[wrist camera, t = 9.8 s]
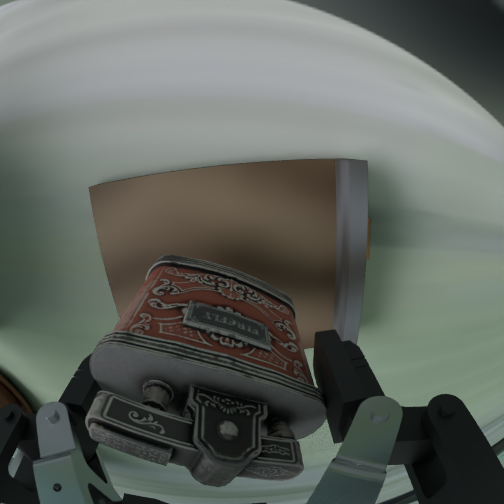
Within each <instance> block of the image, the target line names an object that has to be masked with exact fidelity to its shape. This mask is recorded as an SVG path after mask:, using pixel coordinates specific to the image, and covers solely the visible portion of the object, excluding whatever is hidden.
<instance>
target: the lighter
mask: <svg viewBox="0 0 504 504" xmlns="http://www.w3.org/2000/svg"><path fill="white" fill-rule="evenodd" d="M296 321H297V313H296V310H295V307H294V304H293V302H292V299H291V298H290V297H289V296H288V295H287V294H285V293H283V292H281V291H280V290H278V289H276V288H274V287H272V286H271V285H269V284H267V283H265V282H264V281H262V280H259V279H257V278H255V277H252V276H250V275H248V274H245V273H243V272H241V271H238V270H236V269H234V268H230V267H226V266H223V265H219V264H216V263H212V262H209V261H205V260H201V259H195V258H190V257H184V256H178V255H165V256H162V257H160V258H159V259H158V260H157V261H156V262H155V263H154V264H153V265H152V266H151V268H150V269H149V271H148V273H147V276H146V281H145V283H144V284H143V285H142V287H141V288H140V290H139V291H138V293H137V294H136V296H135V297H134V299H133V300H132V302H131V303H130V305H129V306H128V308H127V309H126V311H125V312H124V314H123V316H122V317H121V319H120V320H119V322H118V323H117V325H116V326H115V328H114V330H113V331H112V332H110V333H107V334H106V335H105V336H104V337H103V338H102V339H101V340H100V342H99V343H98V345H97V346H96V348H95V350H94V351H93V353H92V355H91V358H90V362H89V364H90V370H91V374H92V376H93V378H94V379H95V380H96V382H97V384H98V385H99V386H100V387H101V389H102V390H103V391H99V392H98V393H97V395H96V397H95V399H94V401H93V403H92V405H91V408H90V410H89V412H88V414H87V416H86V420H85V423H86V427H87V429H88V430H89V434H90V437H91V438H92V439H94V440H95V441H97V442H99V443H101V444H104V445H106V446H109V447H111V448H114V449H116V450H119V451H121V452H124V453H127V454H130V455H133V456H136V457H138V458H142V459H145V460H148V461H151V462H154V463H158V464H161V465H165V466H166V465H167V463H168V462H169V463H173V464H177V465H181V466H185V467H186V468H187V469H189V470H190V472H191V475H192V476H193V477H194V478H195V480H197V481H198V482H200V483H202V484H204V485H210V486H216V487H220V486H225V485H227V484H228V483H230V482H231V481H232V480H233V479H234V478H235V477H237V476H238V477H245V478H254V479H264V480H278V481H283V480H289V479H292V478H294V477H296V476H298V475H299V474H300V473H301V472H302V471H303V470H304V466H303V461H302V455H301V450H300V444H299V442H298V441H296V440H298V439H301V438H304V437H306V436H308V435H310V434H312V433H314V432H315V431H316V430H317V429H318V428H320V427H321V426H322V424H323V423H324V421H325V420H326V412H327V409H326V406H325V402H324V399H323V396H322V393H321V391H320V390H319V389H318V388H316V387H315V386H314V382H313V379H312V376H311V372H310V369H309V365H308V362H307V359H306V355H305V352H304V348H303V345H302V342H301V338H300V335H299V332H298V328H297V325H296Z"/></svg>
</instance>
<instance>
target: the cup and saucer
mask: <svg viewBox="0 0 504 504" xmlns="http://www.w3.org/2000/svg"><path fill="white" fill-rule="evenodd" d="M7 404H16V405H18V406H19V407H20V409H21V410H22V411H23V413H24V414H33V412H32V410H31V408H30V406H29V405H28V403H27V402H26V400H25V399H24V398H23V397H22V395H21V394H20V393H19V392H18V391H17V390H16V389H15V387H14V386H13V385H12V384H11V383H10V382H9V381H7V380H6V379H5V378H4V377H3V376H2V375H1V374H0V409H1V408H2V407H4V406H5V405H7Z"/></svg>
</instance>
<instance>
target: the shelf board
mask: <svg viewBox="0 0 504 504" xmlns="http://www.w3.org/2000/svg"><path fill="white" fill-rule="evenodd" d="M89 192H90V198H91V204H92V210H93V216H94V221H95V226H96V231H97V236H98V240H99V245H100V249H101V253H102V257H103V262H104V265H105V269H106V273H107V277H108V281H109V284H110V288H111V291H112V295H113V298H114V301H115V304H116V308H117V311H118V314H119V317H120V319H121V317H122V316H123V314H124V312H125V311H126V309H127V308H128V306H129V305H130V303H131V302H132V300H133V299H134V297H135V296H136V294H137V293H138V291H139V290H140V288H141V287H142V285H143V284H144V283H145V281H146V276H147V273H148V271H149V269H150V268H151V266H152V265H153V264H154V263H155V262H156V261H157V260H158V259H159V258H160V257H162V256H165V255H178V256H184V257H190V258H195V259H201V260H205V261H209V262H212V263H216V264H219V265H223V266H226V267H230V268H234V269H236V270H238V271H241V272H243V273H245V274H248V275H250V276H252V277H255V278H257V279H259V280H262V281H264V282H265V283H267V284H269V285H271V286H272V287H274V288H276V289H278V290H280V291H281V292H283V293H285V294H287V295H288V296H289V297H290V298H291V299H292V302H293V304H294V307H295V310H296V313H297V321H296V325H297V328H298V332H299V335H300V338H301V342H302V345H303V348H304V349H307V348H314V339H315V332H319V331H326V330H333V329H335V330H336V331H337V333H338V335H339V337H340V339H341V341H348V340H350V341H352V342H353V343H354V344H356V345H357V339H358V332H359V325H360V317H361V309H362V300H363V290H364V279H365V266H366V259H369V246H370V221H371V219H370V218H368V164H367V161H365V160H355V159H301V160H281V161H265V162H252V163H240V164H229V165H219V166H210V167H202V168H194V169H186V170H178V171H171V172H165V173H158V174H152V175H146V176H140V177H134V178H129V179H123V180H118V181H113V182H108V183H103V184H98V185H94V186H91V187H89Z"/></svg>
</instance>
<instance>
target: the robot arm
mask: <svg viewBox="0 0 504 504" xmlns="http://www.w3.org/2000/svg"><path fill="white" fill-rule="evenodd" d="M91 355H92V353H91V354H90V355H89V356H88V357H87V358H85V359H84V360H83V361H82V363H81V364H80V366H79V368H78V371H76V373H75V374H74V378H72V379H71V381H70V382H69V384H68V386H67V387H66V389H65V391H64V393H63V394H62V396H61V398H60V399H59V401H58V402H50V403H47V404H45V405H44V406H42V407H41V408H40V410H39V411H38V413H37V414H24V413H23V411H22V410H21V409H20V407H19V406H18V405H16V404H7V405H5V406H4V407H2V408H1V409H0V504H168V503H165V502H163V501H160V500H157V499H153V498H147V497H141V496H136V495H131V494H126V493H124V496H123V500H122V498H121V497H120V496H119V494H118V493H117V492H116V490H115V489H114V487H113V485H112V482H111V480H110V478H109V475H108V473H107V470H106V468H105V465H104V463H103V460H102V457H101V454H100V452H99V450H98V449H97V446H98V444H99V442H97V441H95V440H94V439H92V438H91V437H90V434H89V430H88V429H87V427H86V423H85V420H86V416H87V414H88V412H89V410H90V408H91V405H92V403H93V401H94V399H95V397H96V395H97V393H98V392H99V391H103V390H102V389H101V387H100V386H99V385H98V384H97V382H96V380H95V379H94V378H93V376H92V374H91V370H90V364H89V362H90V358H91ZM313 369H314V376H315V379H316V383H317V386H318V389H319V390H320V391H321V393H322V396H323V399H324V402H325V406H326V409H327V412H326V417H327V420H328V424H329V427H330V431H331V435H332V438H333V442H334V444H335V443H340V442H343V443H342V445H341V447H340V449H339V451H338V453H337V455H336V457H335V458H334V459H333V460H332V461H331V463H330V464H329V466H328V468H327V470H326V471H325V473H324V475H323V477H322V478H321V480H320V482H319V484H318V485H317V487H316V489H315V490H314V492H313V494H312V495H311V497H310V498H309V500H308V502H307V503H306V504H375V502H376V500H377V498H378V495H379V493H380V491H381V488H382V486H383V483H384V480H385V477H386V473H387V472H386V467H387V465H401V464H404V465H405V468H406V470H407V473H408V476H409V478H410V481H411V483H412V486H413V489H414V491H415V494H416V496H417V499H418V502H419V504H504V468H503V466H502V465H501V463H500V461H499V459H498V458H497V456H496V454H495V452H494V451H493V449H492V447H491V446H490V444H489V442H488V441H487V439H486V437H485V436H484V434H483V432H482V431H481V429H480V428H479V426H478V424H477V423H476V421H475V420H474V418H473V417H472V415H471V414H470V412H469V411H468V409H467V408H466V406H465V405H464V403H463V402H462V401H461V400H460V399H459V398H458V397H456V396H454V395H450V394H441V395H438V396H435V397H434V398H432V399H431V400H430V402H429V404H428V406H423V407H403V406H400V405H399V403H398V402H397V401H395V400H394V399H392V398H389V397H386V396H385V395H384V393H383V391H382V389H381V387H380V385H379V383H378V381H377V379H376V377H375V375H374V373H373V372H372V370H371V368H370V367H369V364H368V362H367V360H366V359H365V357H364V355H363V353H362V351H361V349H360V347H358V346H357V345H356V344H354V343H353V342H352V341H350V340H348V341H341V339H340V337H339V335H338V333H337V331H336V330H335V329H333V330H326V331H319V332H315V339H314V358H313ZM16 448H18V449H19V451H18V453H17V455H16V457H15V459H14V461H13V463H12V465H11V467H10V469H9V471H8V465H9V462H10V460H11V458H12V456H13V454H14V452H15V450H16ZM253 504H266V503H253Z"/></svg>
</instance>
